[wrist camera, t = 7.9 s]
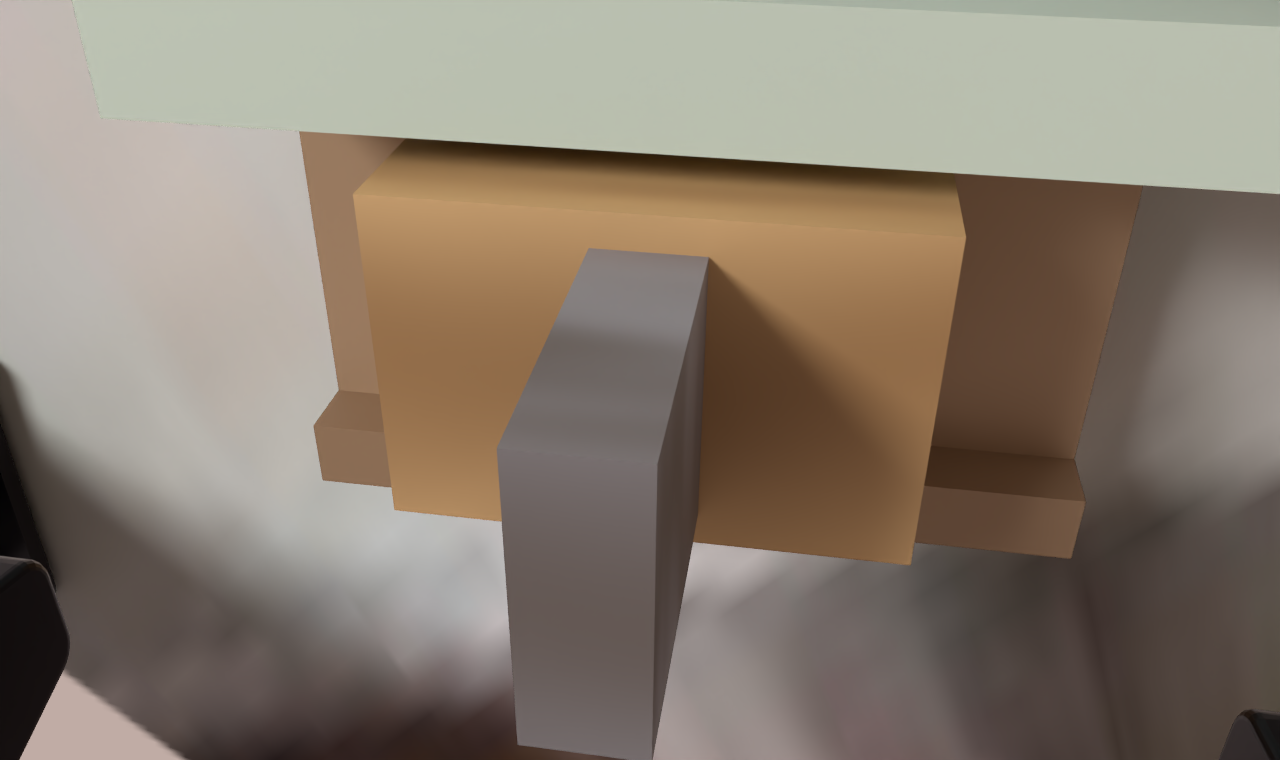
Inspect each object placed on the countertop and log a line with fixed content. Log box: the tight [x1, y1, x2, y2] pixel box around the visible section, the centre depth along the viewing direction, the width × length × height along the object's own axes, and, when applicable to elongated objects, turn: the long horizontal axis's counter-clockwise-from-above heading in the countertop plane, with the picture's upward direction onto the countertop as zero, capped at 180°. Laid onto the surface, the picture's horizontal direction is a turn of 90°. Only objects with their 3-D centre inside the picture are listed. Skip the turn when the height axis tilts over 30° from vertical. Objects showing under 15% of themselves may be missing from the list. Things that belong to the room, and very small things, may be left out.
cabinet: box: [353, 138, 966, 760], centre depth 13 cm, size 4×6×8 cm
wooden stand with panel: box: [72, 0, 1280, 559], centre depth 15 cm, size 8×12×6 cm, turn 89°
